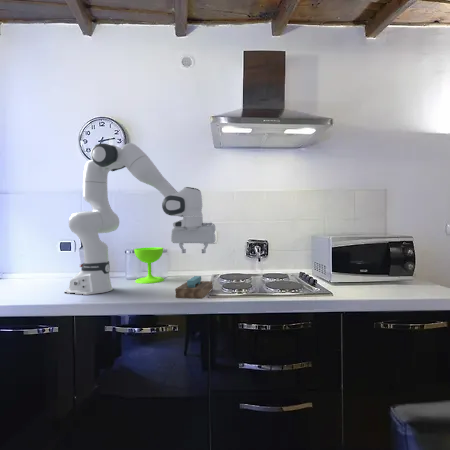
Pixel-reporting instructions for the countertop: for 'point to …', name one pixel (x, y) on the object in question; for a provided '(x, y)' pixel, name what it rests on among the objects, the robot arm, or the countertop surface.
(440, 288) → the countertop surface
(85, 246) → the robot arm
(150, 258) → the wineglass
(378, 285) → the countertop surface
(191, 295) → the wooden board with holes
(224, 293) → the countertop surface
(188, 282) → the teal long block
